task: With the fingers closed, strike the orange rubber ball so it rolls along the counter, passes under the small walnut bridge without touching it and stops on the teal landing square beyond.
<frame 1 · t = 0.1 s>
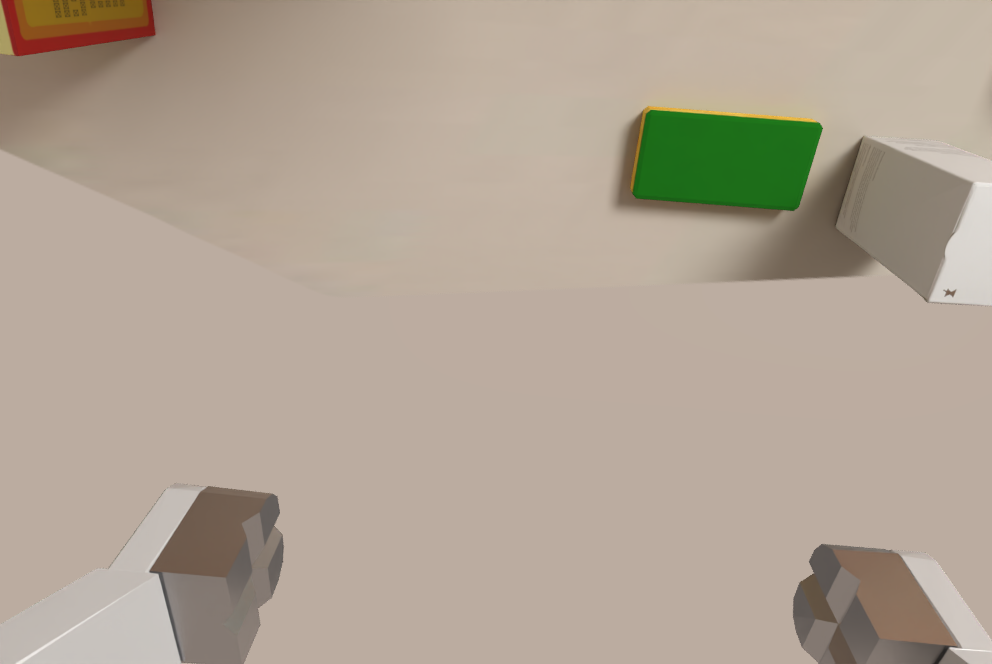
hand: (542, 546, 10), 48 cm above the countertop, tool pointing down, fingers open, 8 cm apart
dish sponge: (717, 154, 54), on the countertop
skincare box: (881, 182, 54), on the countertop
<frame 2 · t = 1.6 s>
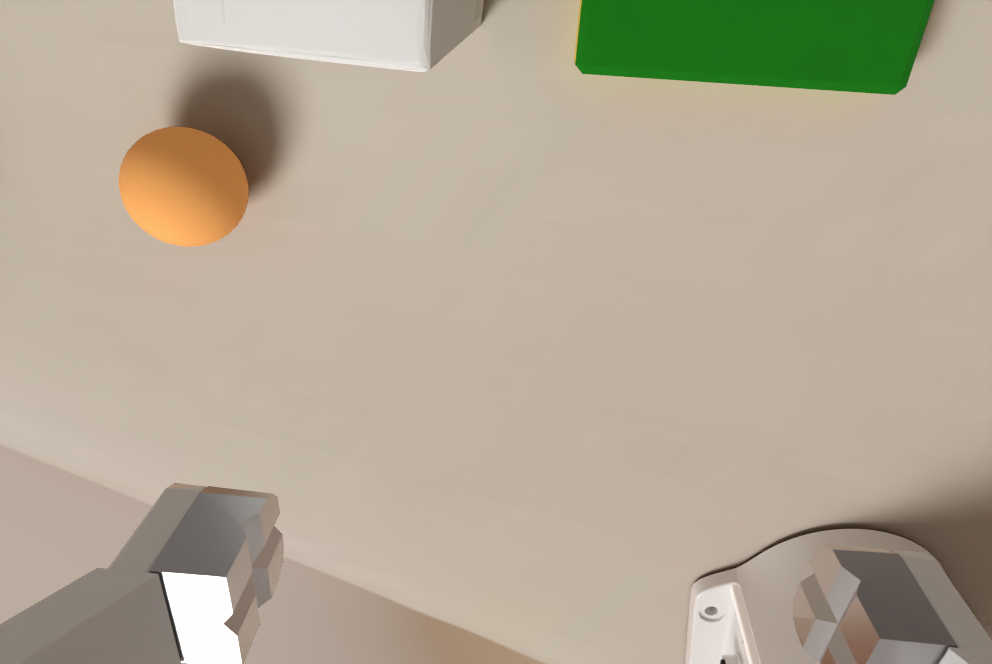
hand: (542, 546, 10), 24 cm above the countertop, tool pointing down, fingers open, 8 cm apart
ball: (186, 187, 30), on the countertop
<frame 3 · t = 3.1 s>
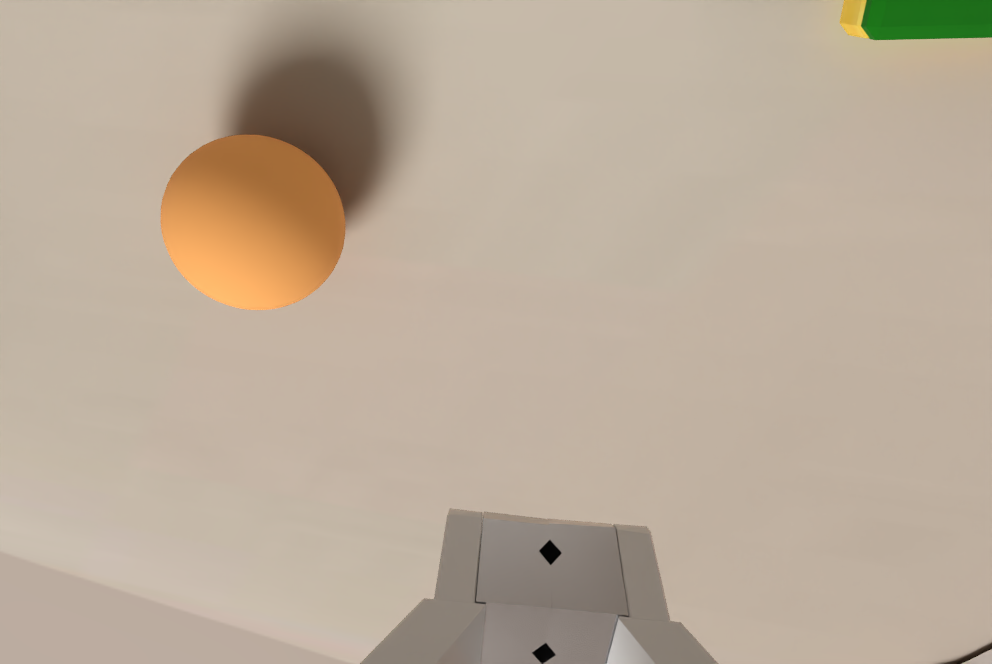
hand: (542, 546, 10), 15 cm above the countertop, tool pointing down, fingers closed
ball: (257, 224, 21), on the countertop
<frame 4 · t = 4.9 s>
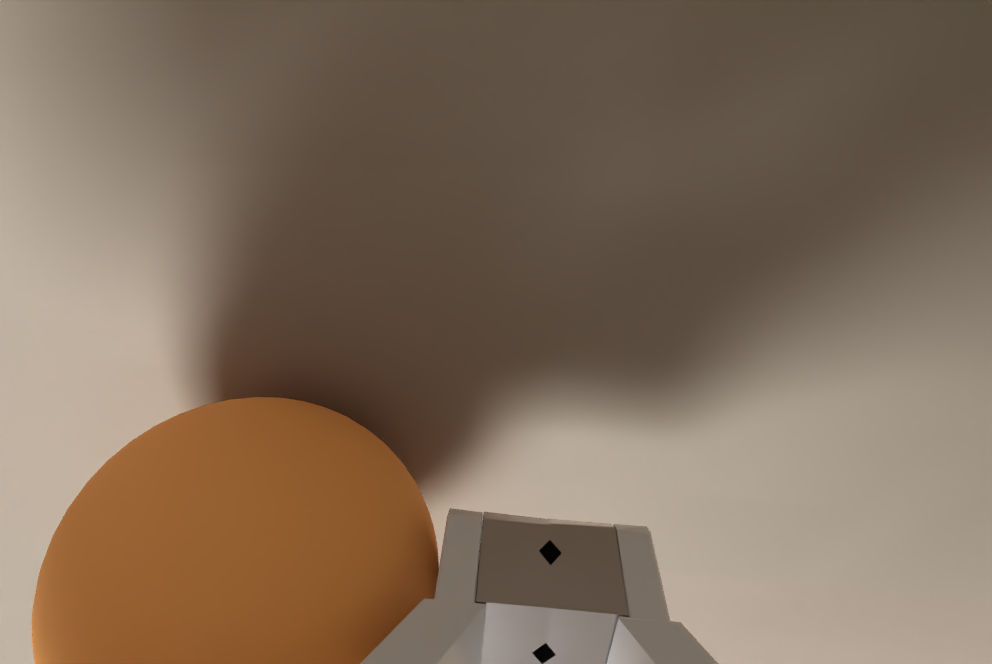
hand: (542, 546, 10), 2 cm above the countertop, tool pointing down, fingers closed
ball: (256, 579, 10), on the countertop
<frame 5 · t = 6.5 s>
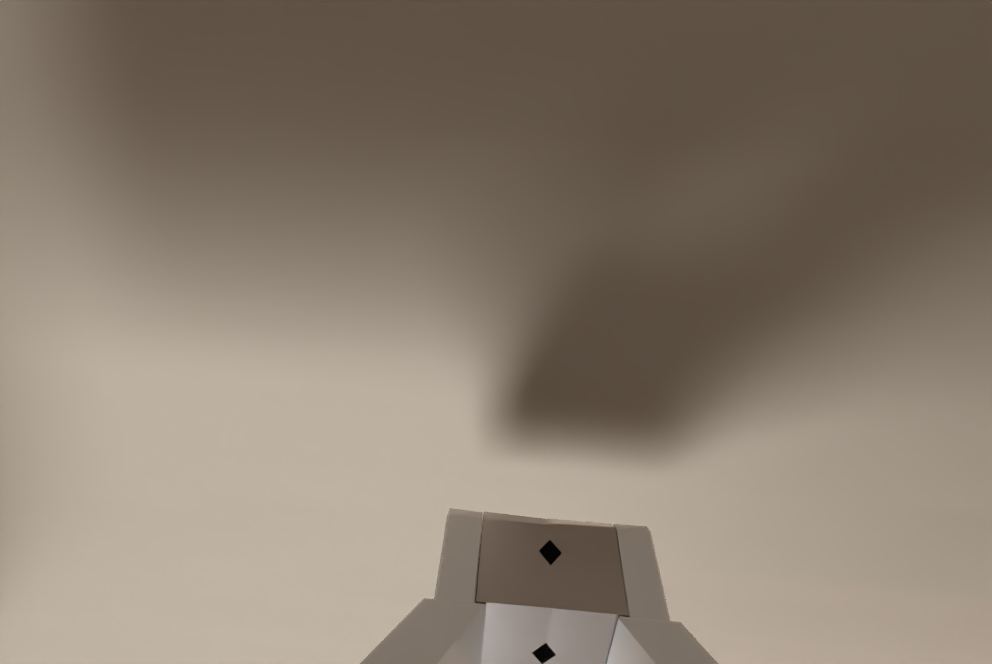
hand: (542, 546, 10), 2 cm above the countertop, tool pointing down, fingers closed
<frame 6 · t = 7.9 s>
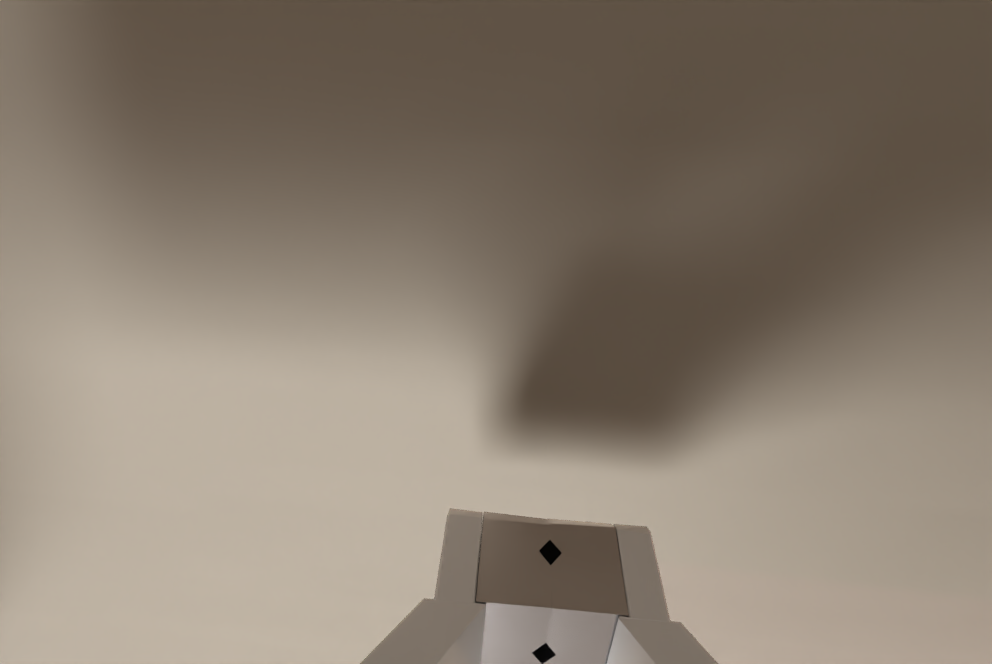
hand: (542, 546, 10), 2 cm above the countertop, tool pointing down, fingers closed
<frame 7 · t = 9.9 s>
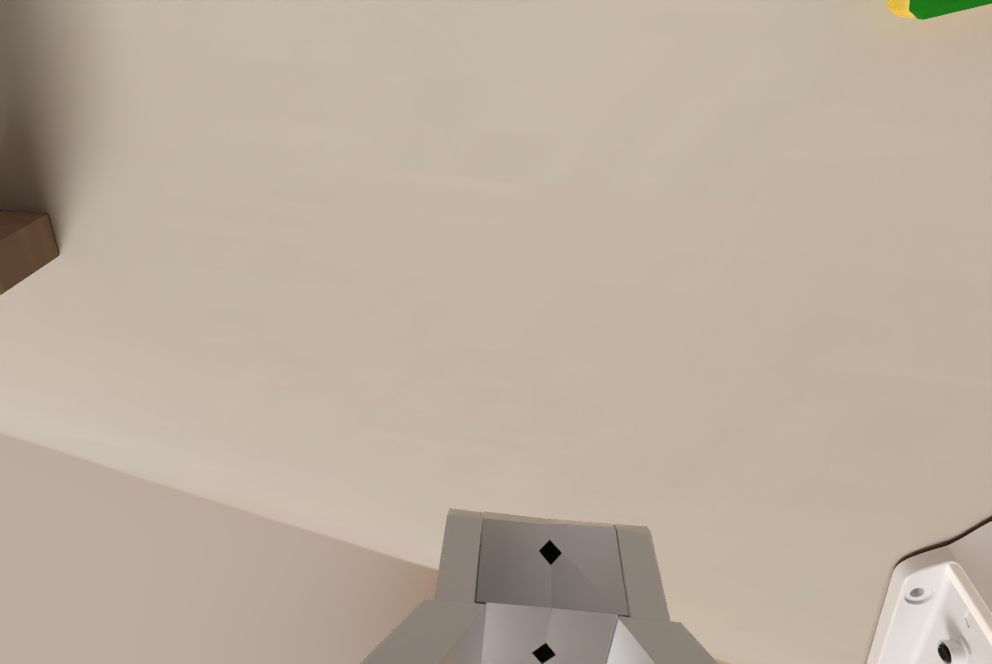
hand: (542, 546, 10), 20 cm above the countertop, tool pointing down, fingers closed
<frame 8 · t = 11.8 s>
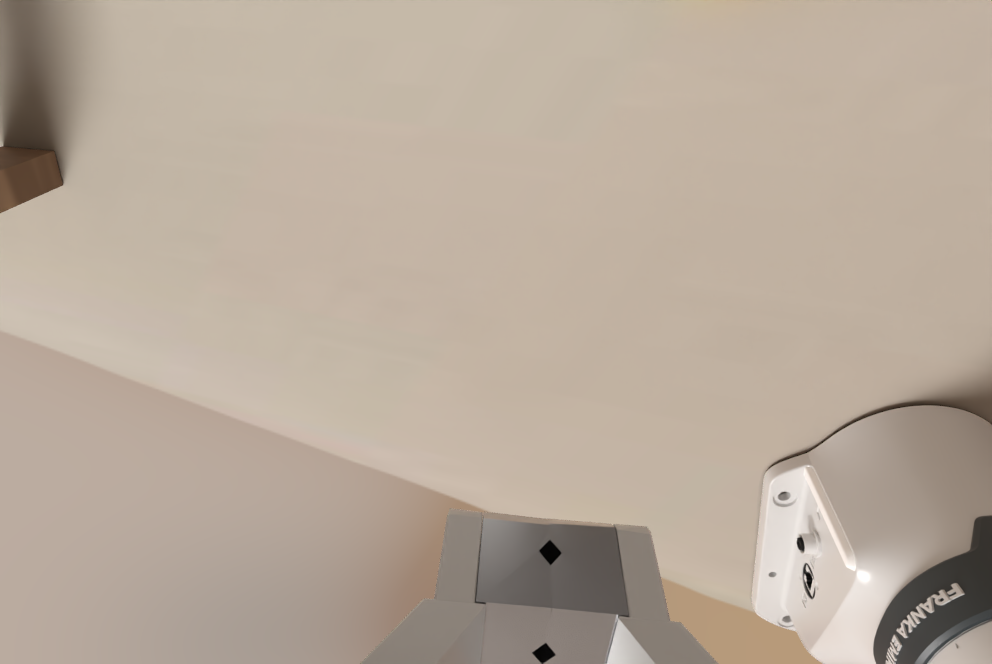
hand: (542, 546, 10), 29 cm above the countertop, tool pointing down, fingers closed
bridge: (1, 49, 35), on the countertop
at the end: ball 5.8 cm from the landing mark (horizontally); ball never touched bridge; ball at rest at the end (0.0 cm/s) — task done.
